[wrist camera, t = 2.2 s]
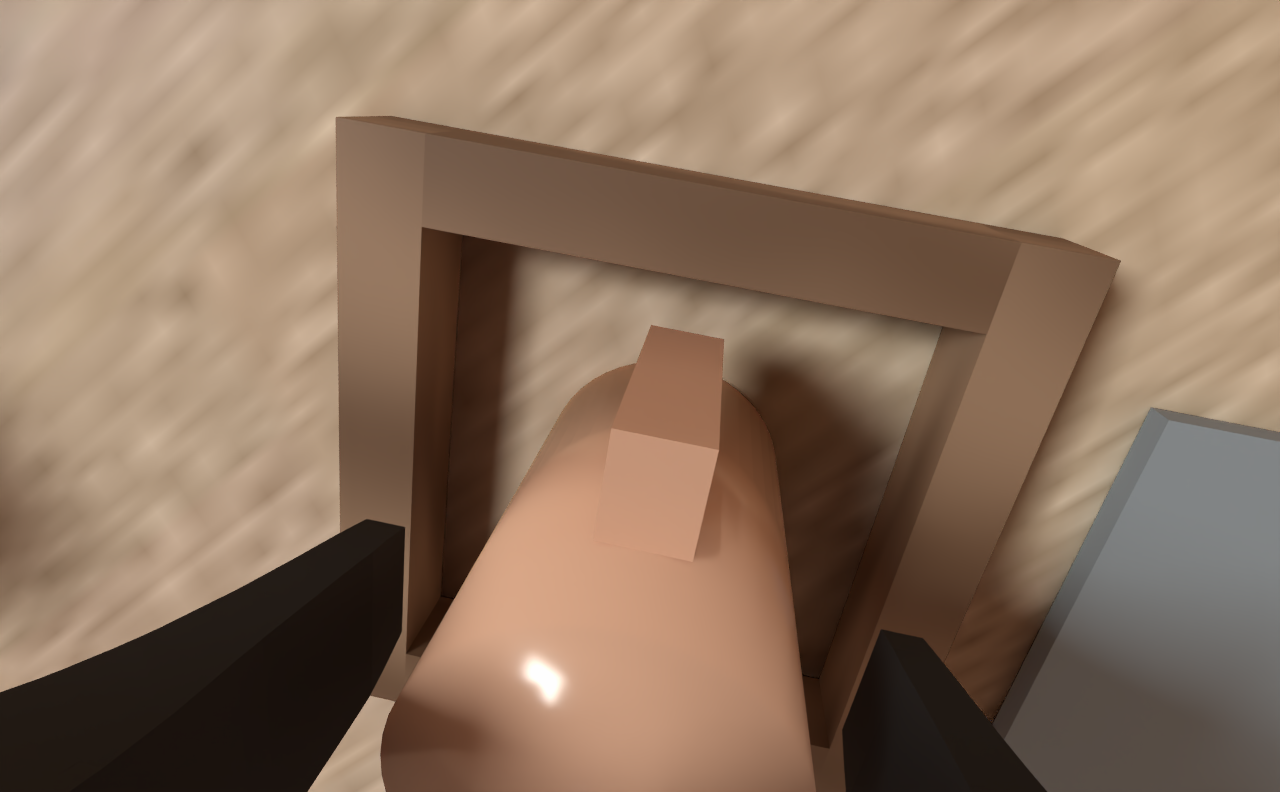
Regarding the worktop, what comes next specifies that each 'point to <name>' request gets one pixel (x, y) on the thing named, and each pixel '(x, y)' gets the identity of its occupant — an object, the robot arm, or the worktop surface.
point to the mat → (1164, 626)
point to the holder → (720, 253)
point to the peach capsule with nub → (622, 607)
